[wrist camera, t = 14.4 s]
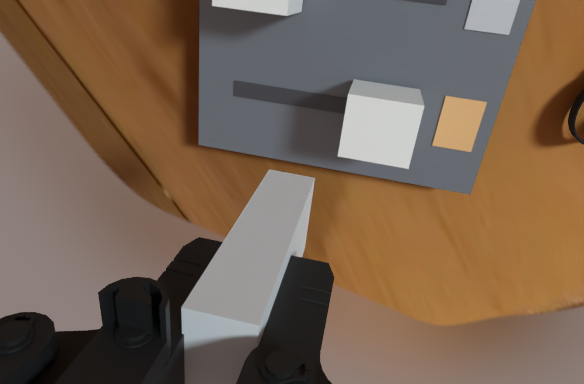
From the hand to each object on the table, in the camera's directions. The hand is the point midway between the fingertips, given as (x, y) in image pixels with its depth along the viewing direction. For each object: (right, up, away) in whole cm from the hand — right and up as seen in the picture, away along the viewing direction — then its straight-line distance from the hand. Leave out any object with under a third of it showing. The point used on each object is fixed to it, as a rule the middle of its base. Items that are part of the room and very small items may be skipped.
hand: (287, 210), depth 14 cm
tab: (+6, +6, +13) cm, 15 cm away
